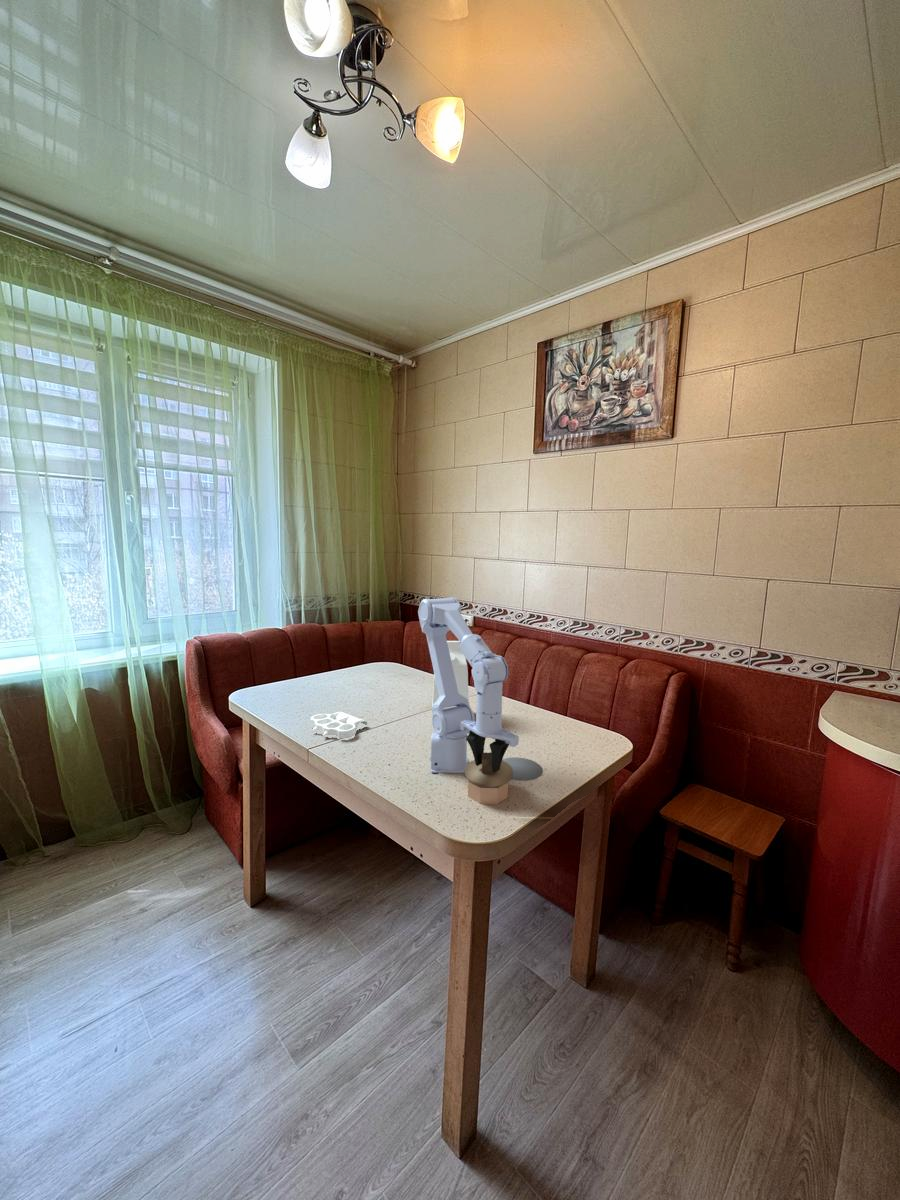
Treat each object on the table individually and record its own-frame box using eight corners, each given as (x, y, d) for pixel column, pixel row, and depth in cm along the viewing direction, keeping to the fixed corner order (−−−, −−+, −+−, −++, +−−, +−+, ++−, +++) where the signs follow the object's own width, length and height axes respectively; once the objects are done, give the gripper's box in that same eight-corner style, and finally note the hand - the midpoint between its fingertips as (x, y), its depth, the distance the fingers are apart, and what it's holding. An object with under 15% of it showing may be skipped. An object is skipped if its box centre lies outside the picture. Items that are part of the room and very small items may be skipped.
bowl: (468, 804, 99) (468, 787, 99) (467, 783, 108) (467, 767, 108) (509, 805, 99) (509, 788, 99) (504, 783, 108) (505, 768, 108)
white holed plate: (374, 730, 139) (335, 747, 128) (337, 716, 150) (299, 730, 139) (374, 720, 139) (335, 735, 128) (337, 707, 150) (299, 720, 139)
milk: (466, 711, 155) (467, 637, 152) (469, 724, 144) (470, 645, 141) (432, 711, 155) (432, 637, 152) (431, 724, 144) (432, 645, 141)
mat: (497, 781, 109) (497, 780, 109) (493, 758, 121) (493, 757, 121) (547, 782, 109) (547, 780, 109) (538, 759, 121) (538, 757, 121)
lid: (464, 787, 98) (464, 768, 98) (464, 761, 109) (464, 744, 109) (515, 786, 98) (515, 768, 97) (510, 760, 109) (510, 744, 108)
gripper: (526, 712, 100) (524, 770, 102) (473, 698, 109) (472, 751, 111) (509, 722, 95) (508, 783, 96) (455, 706, 104) (454, 762, 105)
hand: (487, 767), depth 103 cm, fingers closed on lid, 4 cm apart
